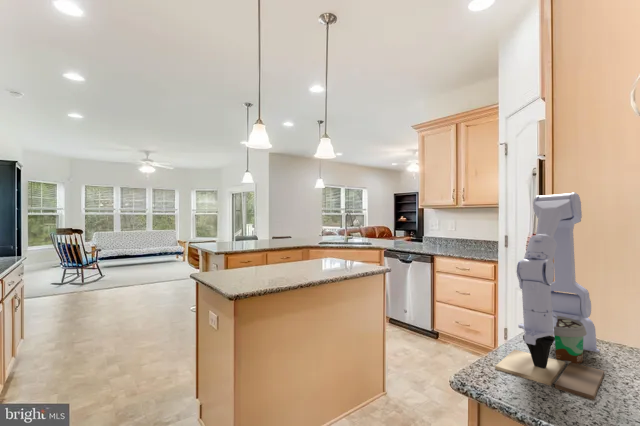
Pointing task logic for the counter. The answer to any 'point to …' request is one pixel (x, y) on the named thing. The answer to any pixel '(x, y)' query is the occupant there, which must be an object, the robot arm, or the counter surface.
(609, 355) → the counter surface
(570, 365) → the walnut board
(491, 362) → the counter surface
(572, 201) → the robot arm
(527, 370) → the oak plank
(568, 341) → the food container
